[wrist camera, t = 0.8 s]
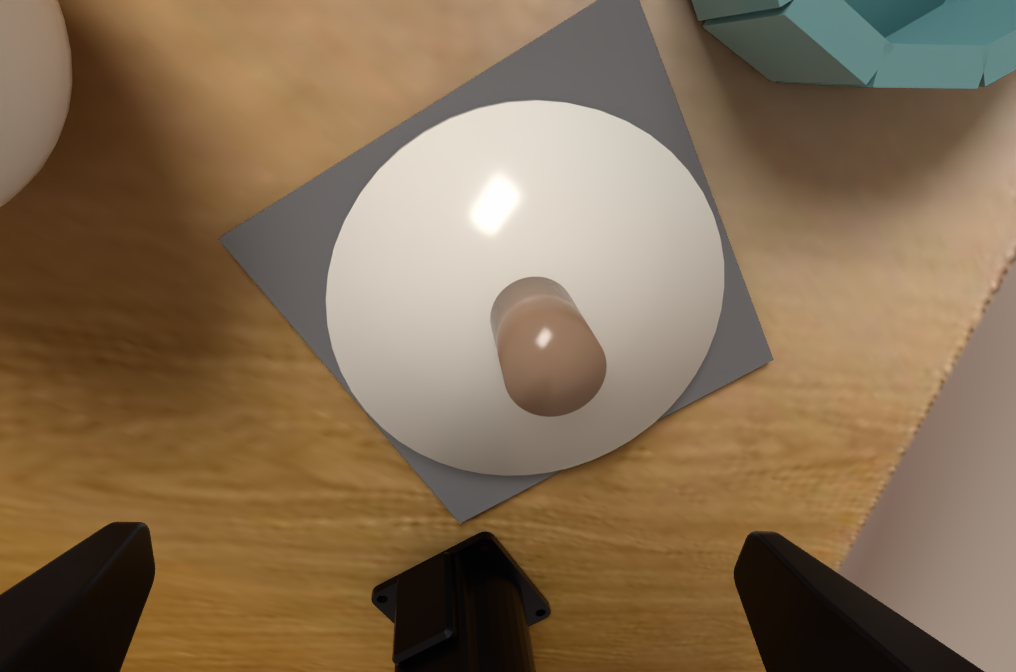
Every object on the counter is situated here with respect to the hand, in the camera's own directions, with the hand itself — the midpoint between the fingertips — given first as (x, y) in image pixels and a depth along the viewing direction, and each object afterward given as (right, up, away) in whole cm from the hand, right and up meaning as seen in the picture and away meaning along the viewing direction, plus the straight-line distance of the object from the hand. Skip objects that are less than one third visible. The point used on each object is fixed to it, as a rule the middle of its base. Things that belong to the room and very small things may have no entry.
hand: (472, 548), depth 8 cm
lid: (+1, +4, +12) cm, 13 cm away
